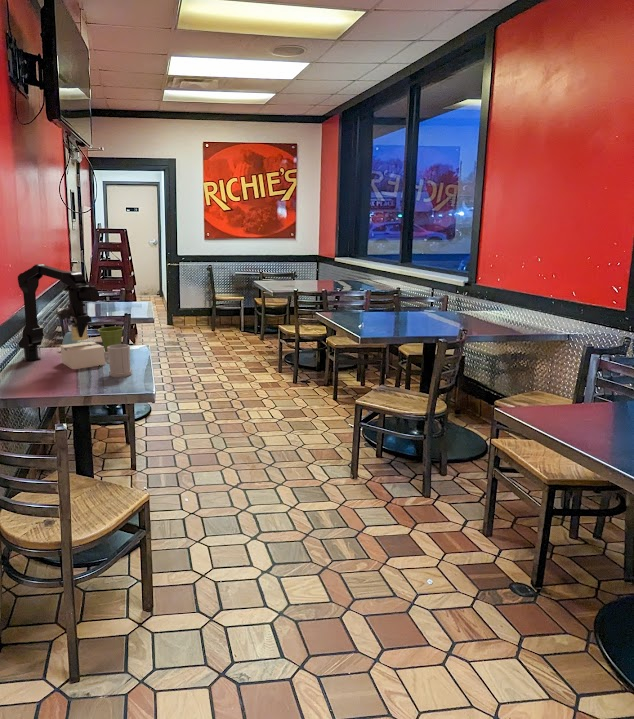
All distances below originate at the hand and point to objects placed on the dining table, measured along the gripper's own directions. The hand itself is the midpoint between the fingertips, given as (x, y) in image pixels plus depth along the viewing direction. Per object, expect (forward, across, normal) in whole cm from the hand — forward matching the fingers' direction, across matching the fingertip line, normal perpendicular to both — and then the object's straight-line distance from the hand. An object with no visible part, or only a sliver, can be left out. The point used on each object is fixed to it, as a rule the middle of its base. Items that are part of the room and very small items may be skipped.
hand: (79, 336), depth 280 cm
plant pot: (+12, -17, +19) cm, 29 cm away
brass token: (+1, 0, 0) cm, 1 cm away
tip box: (+12, 0, 0) cm, 12 cm away
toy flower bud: (+12, -36, +8) cm, 39 cm away
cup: (+13, +30, +6) cm, 33 cm away
